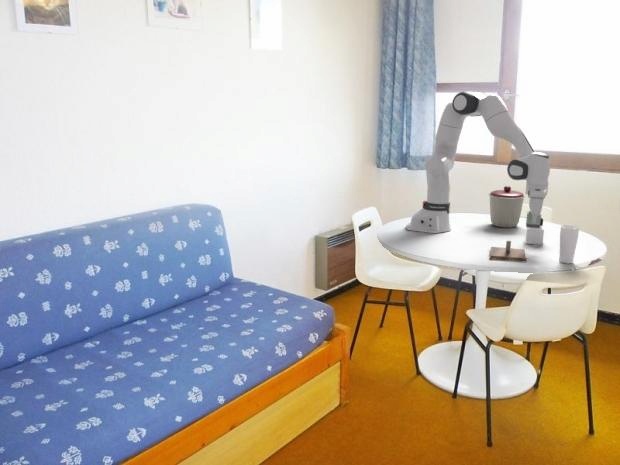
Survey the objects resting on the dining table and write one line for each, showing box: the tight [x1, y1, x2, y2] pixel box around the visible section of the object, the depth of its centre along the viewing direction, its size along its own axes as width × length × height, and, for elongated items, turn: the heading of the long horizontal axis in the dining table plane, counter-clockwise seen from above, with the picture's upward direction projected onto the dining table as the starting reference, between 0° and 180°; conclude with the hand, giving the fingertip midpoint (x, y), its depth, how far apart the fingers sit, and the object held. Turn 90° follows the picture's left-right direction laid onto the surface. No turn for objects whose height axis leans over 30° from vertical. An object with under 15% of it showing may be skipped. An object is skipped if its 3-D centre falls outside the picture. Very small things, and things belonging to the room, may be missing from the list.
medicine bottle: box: [525, 217, 545, 246], centre depth 260 cm, size 7×7×12 cm
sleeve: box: [525, 210, 542, 228], centre depth 246 cm, size 5×5×6 cm
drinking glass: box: [558, 224, 580, 264], centre depth 231 cm, size 7×7×15 cm
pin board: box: [489, 240, 527, 262], centre depth 241 cm, size 14×14×6 cm
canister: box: [488, 185, 526, 229], centre depth 291 cm, size 18×18×21 cm
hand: (533, 221), depth 246 cm, fingers closed on sleeve, 5 cm apart
